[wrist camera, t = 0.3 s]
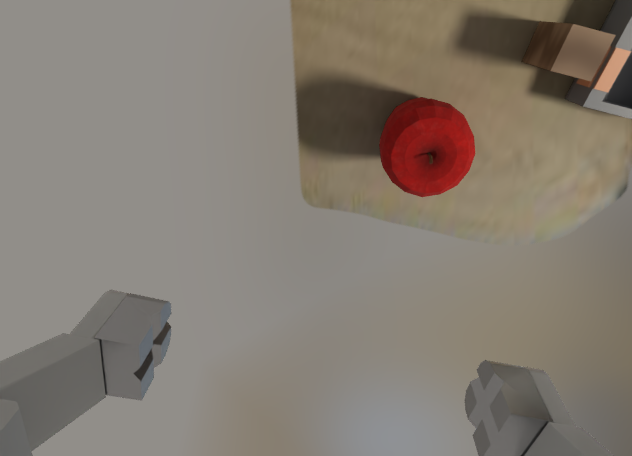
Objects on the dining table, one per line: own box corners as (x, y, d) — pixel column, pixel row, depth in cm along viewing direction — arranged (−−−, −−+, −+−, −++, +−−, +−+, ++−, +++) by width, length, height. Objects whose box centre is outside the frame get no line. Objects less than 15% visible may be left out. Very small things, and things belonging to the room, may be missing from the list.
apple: (455, 159, 56) (484, 200, 44) (380, 170, 57) (389, 213, 45) (452, 79, 51) (484, 101, 39) (371, 94, 52) (377, 120, 40)
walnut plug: (539, 21, 47) (573, 23, 40) (576, 31, 47) (615, 35, 40) (521, 61, 49) (550, 70, 42) (556, 70, 50) (591, 81, 42)
